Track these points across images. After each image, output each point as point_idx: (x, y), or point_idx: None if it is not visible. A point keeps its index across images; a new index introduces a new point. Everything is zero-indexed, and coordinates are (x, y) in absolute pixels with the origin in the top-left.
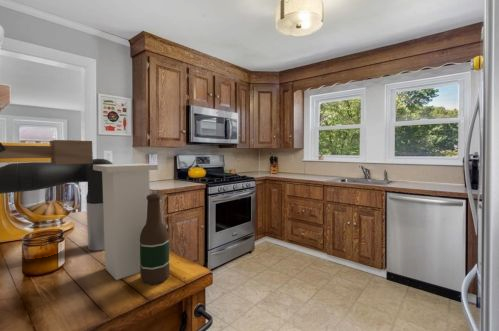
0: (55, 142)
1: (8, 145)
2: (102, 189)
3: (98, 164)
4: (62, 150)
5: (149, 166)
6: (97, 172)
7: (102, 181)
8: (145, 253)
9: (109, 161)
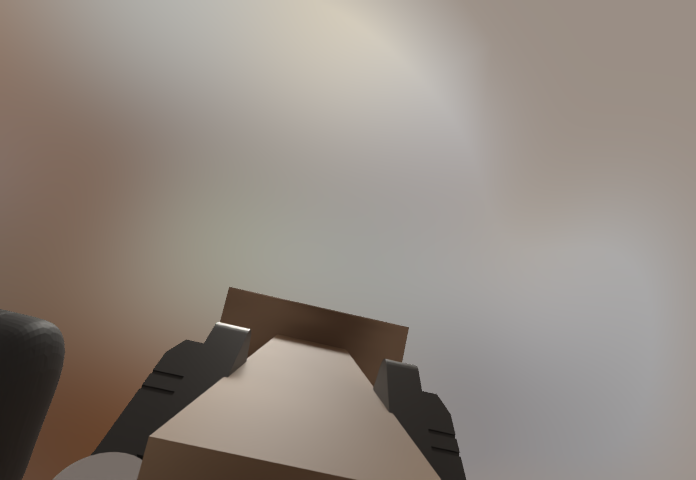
0: (404, 341)
1: (369, 382)
2: (3, 472)
3: (35, 348)
4: None
5: None
6: (19, 389)
7: (18, 431)
8: None
9: (59, 330)
